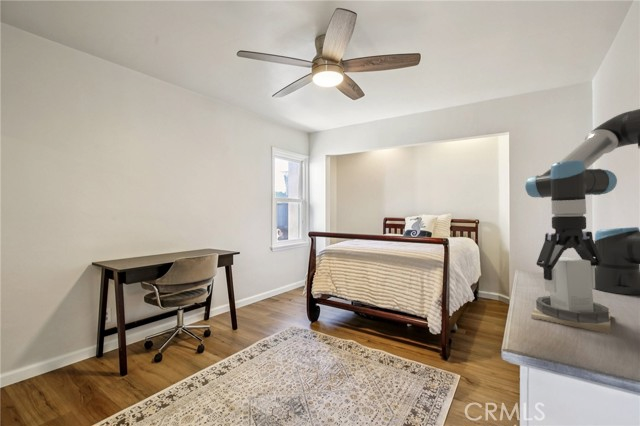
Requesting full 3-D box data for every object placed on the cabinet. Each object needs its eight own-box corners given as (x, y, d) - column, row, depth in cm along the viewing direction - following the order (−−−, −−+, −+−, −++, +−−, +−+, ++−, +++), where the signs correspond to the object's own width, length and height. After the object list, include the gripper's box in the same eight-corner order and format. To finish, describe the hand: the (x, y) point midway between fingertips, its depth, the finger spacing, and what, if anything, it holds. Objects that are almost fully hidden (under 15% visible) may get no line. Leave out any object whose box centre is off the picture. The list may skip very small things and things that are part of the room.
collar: (541, 304, 94) (540, 293, 94) (610, 316, 83) (610, 303, 83) (531, 318, 83) (531, 305, 83) (610, 333, 72) (609, 318, 72)
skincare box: (594, 318, 78) (593, 261, 78) (567, 317, 79) (566, 261, 79) (572, 308, 87) (571, 256, 87) (548, 307, 88) (546, 256, 88)
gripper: (588, 214, 89) (589, 283, 89) (520, 216, 84) (522, 289, 84) (617, 214, 82) (619, 289, 82) (545, 216, 77) (547, 296, 77)
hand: (570, 289), depth 83 cm, fingers open, 13 cm apart
